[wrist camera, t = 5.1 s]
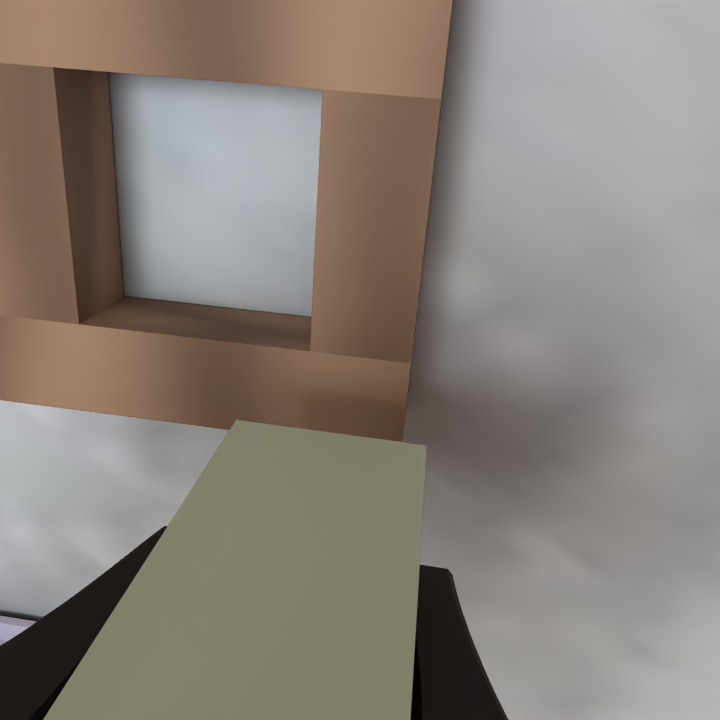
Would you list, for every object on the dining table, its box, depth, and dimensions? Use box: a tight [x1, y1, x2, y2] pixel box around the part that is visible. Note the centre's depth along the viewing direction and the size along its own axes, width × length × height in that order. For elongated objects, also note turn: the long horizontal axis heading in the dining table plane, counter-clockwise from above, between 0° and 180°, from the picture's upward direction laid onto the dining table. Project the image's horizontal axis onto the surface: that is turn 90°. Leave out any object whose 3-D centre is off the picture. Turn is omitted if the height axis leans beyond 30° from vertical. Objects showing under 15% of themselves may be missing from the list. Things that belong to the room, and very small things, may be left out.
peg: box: [43, 420, 427, 720], centre depth 11 cm, size 4×4×8 cm
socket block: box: [0, 0, 453, 442], centre depth 16 cm, size 11×11×2 cm
